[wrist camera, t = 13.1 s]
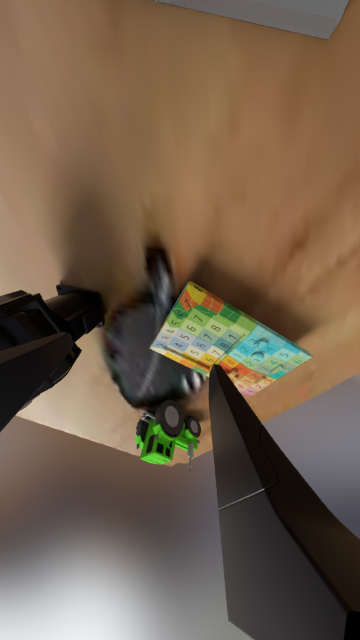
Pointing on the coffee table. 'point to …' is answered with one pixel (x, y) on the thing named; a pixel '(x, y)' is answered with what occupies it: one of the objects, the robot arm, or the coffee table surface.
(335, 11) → the mat
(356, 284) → the coffee table surface
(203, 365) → the puzzle game
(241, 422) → the robot arm
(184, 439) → the toy tractor
